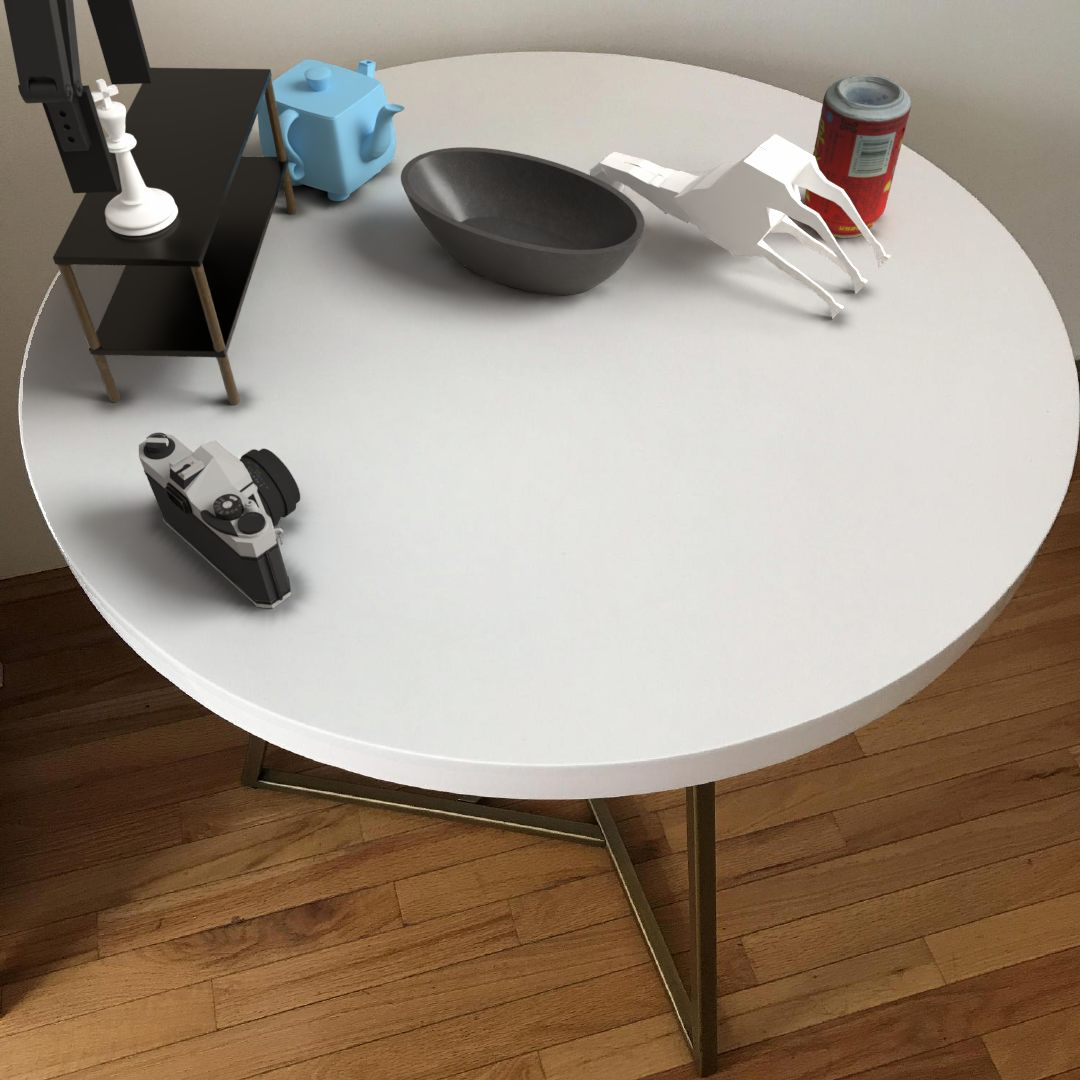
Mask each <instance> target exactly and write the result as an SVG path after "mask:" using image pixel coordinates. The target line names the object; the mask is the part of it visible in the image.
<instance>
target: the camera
mask: <svg viewBox="0 0 1080 1080" xmlns="http://www.w3.org/2000/svg"><path fill="white" fill-rule="evenodd" d="M138 458H139V460H140V463H141V466H142V468H143V472H144V475H145V476H146V478H147V481H148V483H149V487H150V488H151V491H152V493H153V496H154V499H155V501H156V504H157V505H158V509H159V511H160V514H161V517H162V520H163V521H164V524H165V525H167V527H169V528H170V529H171V530H172V531H173V532H174V533H175V534H176V535H177V536H179V537H180V538H181V539H182V540H183V541H184V542H185V543H187V545H188V546H189V547H191V549H193V550H194V551H195V552H196V553H197V554H199V556H201V557H202V558H203V559H204V560H205V561H206V562H207V563H208V564H210V566H212V568H214V569H215V570H216V571H217V572H218V573H220V574H221V575H222V576H223V577H224V578H225V579H226V580H227V581H228V582H229V583H231V584H232V585H233V586H234V587H235V588H236V589H237V590H238V591H239V592H241V594H243V595H244V596H245V597H246V598H247V599H248V600H249V601H250V602H251V603H253V604H254V605H255V606H256V607H257V608H263V609H272V610H273V609H274V608H275V607H277V606H278V605H280V604H281V603H282V602H284V601H285V600H287V599H288V598H289V597H290V596H292V588H291V582H290V577H289V575H288V573H287V569H286V566H285V562H284V559H283V555H282V552H281V548H280V545H283V539H282V538H283V536H284V530H283V529H282V528H281V527H277V528H275V527H276V526H278V525H279V522H280V519H281V518H286V517H287V516H289V515H291V514H292V513H293V512H294V511H296V509H297V504H298V503H299V502H300V501H301V492H300V488H299V486H298V483H297V481H296V479H295V478H294V476H293V474H292V472H291V471H290V470H289V468H288V467H287V465H286V464H285V463H284V462H283V460H281V458H279V457H278V456H277V455H276V454H275V453H274V452H272V451H271V450H269V449H267V448H261V449H256V448H254V449H253V448H252V449H250V450H248V451H247V452H245V453H244V454H242V455H241V456H240V459H239V458H238V457H236V456H235V455H233V453H231V452H230V451H229V450H228V449H226V447H224V446H223V445H221V443H220V442H218V441H217V440H212V441H210V442H207V443H204V444H202V445H200V446H199V447H197V448H196V449H195V450H194V451H192V450H191V449H190V448H188V447H187V446H186V445H185V444H184V443H183V442H182V441H180V440H179V439H178V438H177V437H176V436H175V435H173V434H170V433H169V434H168V433H164V432H154V433H151V434H149V435H148V436H147V438H146V439H145V440H144V441H143V442H141V443H139V444H138ZM278 538H279V540H280V545H279V541H278Z"/></svg>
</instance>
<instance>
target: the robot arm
mask: <svg viewBox="0 0 1080 1080" xmlns="http://www.w3.org/2000/svg"><path fill="white" fill-rule="evenodd" d="M86 2H87V6H88V9H89V13H90V15H91V20H92V22H93V26H94V29H95V32H96V36H97V40H98V43H99V46H100V49H101V51H102V53H101V54H102V56H103V60H104V63H105V66H106V70H107V73H108V77H109V80H110V83H111V85H113V84H114V85H115V86H117V85H139V84H141V85H142V84H144V83H151V82H152V79H153V77H152V73H151V69H150V68H151V65H150V62H149V58H148V54H147V51H146V47H145V44H144V40H143V35H142V32H141V28H140V25H139V21H138V17H137V14H136V10H135V5H134V3H133V2H134V1H133V0H86ZM3 5H4V10H5V16H6V20H7V27H8V31H9V37H10V42H11V47H12V53H13V57H14V62H15V63H14V64H15V68H16V69H15V70H16V74H17V79H18V84H17V88H18V93H19V95H20V97H21V98H22V100H23V101H24V103H25V104H42V108H43V110H44V113H45V116H46V119H47V122H48V124H49V127H50V131H51V133H52V135H53V139H54V142H55V145H56V148H57V150H58V153H59V156H60V159H61V162H62V166H63V168H64V170H65V173H66V176H67V180H68V182H69V186H70V187H71V188H70V189H71V190H72V193H73V194H86V193H95V192H118V189H119V186H120V184H119V181H118V178H117V174H116V171H115V168H114V165H113V162H112V158H111V155H110V152H109V149H108V145H107V142H106V136H105V133H104V128H103V126H102V125H101V123H100V120H99V117H98V113H97V110H96V107H97V106H96V104H95V102H94V100H93V97H92V94H91V93H92V91H91V88H90V85H88V84H87V85H83V83H82V74H81V64H80V55H79V46H78V45H79V44H78V34H77V26H76V25H77V24H76V16H75V15H76V14H75V5H74V0H3Z"/></svg>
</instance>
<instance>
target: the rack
mask: <svg viewBox="0 0 1080 1080" xmlns="http://www.w3.org/2000/svg"><path fill="white" fill-rule="evenodd" d="M150 69H151V73H152V77H153V79H152V82H151V83H144V84H141V85H140V87H139V88H138V90H137V93H136V94H135V97H134V98H133V100H132V103H131V104H130V106H129V108H128V110H127V111H126V118H125V133H128V134H131V135H133V136H134V138H135V139H136V142H137V143H136V145H135V147H134V148H133V149H131V150H130V152H131V154H132V157H133V159H134V162H135V164H136V166H137V168H138V171H139V173H140V175H141V177H142V179H143V181H144V184H145V185H146V187H148V188H156V189H160V190H163V191H165V192H167V193H168V194H170V195H171V196H172V197H173V199H174V202H175V204H176V206H177V208H178V214H177V216H176V218H175V220H174V221H173V222H172V223H171V224H170V225H169V226H167V227H166V228H164V229H162V230H160V231H158V232H155V233H152V234H148V235H142V236H127V235H122V234H119V233H116V232H114V231H113V230H111V229H110V228H109V227H108V225H107V223H106V216H105V209H106V206H107V205H108V203H109V202H110V201H111V200H112V199H113V198H114V197H116V196H117V195H119V194H120V193H121V192H122V187H121V181H120V175H119V169H118V164H117V160H116V155H115V153H110V155H111V158H112V162H113V165H114V168H115V171H116V174H117V178H118V181H119V184H120V186H119V189H118V192H95V193H84V195H83V198H82V200H81V201H80V204H79V206H78V207H77V209H76V211H75V214H74V216H73V217H72V219H71V221H70V223H69V225H68V227H67V228H66V231H65V233H64V235H63V236H62V238H61V240H60V241H59V244H58V247H57V248H56V250H55V252H54V254H53V256H52V260H53V262H54V264H55V265H57V268H58V270H59V273H60V275H61V278H62V280H63V283H64V285H65V288H66V291H67V293H68V296H69V299H70V301H71V303H72V306H73V309H74V311H75V314H76V316H77V319H78V322H79V324H80V327H81V329H82V332H83V334H84V337H85V339H86V342H87V345H88V353H89V354H90V355H91V356H92V357H93V360H94V362H95V365H96V368H97V371H98V372H99V373H98V374H99V376H100V378H101V381H102V383H103V386H104V388H105V391H106V393H107V396H108V398H109V401H110V402H111V403H118V402H119V401H120V400H121V394H120V391H119V389H118V386H117V384H116V381H115V378H114V376H113V373H112V370H111V368H110V365H109V363H108V360H107V358H106V356H119V357H120V356H123V357H125V356H127V357H129V356H130V357H168V358H169V357H172V358H173V357H177V358H216V360H217V365H218V368H219V371H220V375H221V378H222V382H223V385H224V389H225V392H226V396H227V399H228V402H229V405H232V406H236V405H238V404H240V401H241V399H240V396H239V392H238V388H237V385H236V380H235V377H234V374H233V370H232V367H231V363H230V359H229V356H228V352H229V348H230V345H231V342H232V338H233V335H234V332H235V329H236V326H237V322H238V320H239V316H240V314H241V311H242V307H243V305H244V301H245V299H246V296H247V293H248V290H249V289H248V288H249V287H250V283H251V279H252V276H253V274H254V271H255V267H256V265H257V261H258V257H259V255H260V252H261V248H262V246H263V243H264V239H265V236H266V233H267V231H268V227H269V225H270V221H271V218H272V215H273V212H274V208H275V205H276V202H277V199H278V196H279V193H280V190H281V187H282V190H283V195H284V200H285V205H286V210H287V213H288V214H290V215H294V214H296V213H297V212H298V210H297V209H298V208H297V206H296V200H295V199H296V198H295V194H294V189H293V186H292V183H291V178H290V173H289V168H288V158H287V157H286V152H285V147H284V142H283V136H282V131H281V126H280V121H279V116H278V110H277V105H276V100H275V95H274V89H273V84H272V81H273V79H272V70H271V68H211V67H208V68H207V67H202V68H201V67H150ZM264 95H265V99H266V104H267V109H268V114H269V119H270V124H271V129H272V135H273V140H274V145H275V150H276V155H277V157H263V156H252V155H251V156H247V155H245V156H243V154H244V151H245V149H246V145H247V143H248V140H249V137H250V135H251V132H252V129H253V127H254V124H255V122H256V119H257V117H258V111H259V108H260V106H261V103H262V100H263V98H264ZM72 266H117V267H118V266H123V267H124V268H123V270H122V272H121V275H120V277H119V279H118V282H117V284H116V286H115V288H114V290H113V293H112V294H111V298H110V299H109V301H108V304H107V306H106V308H105V311H104V313H103V315H102V317H101V320H100V322H99V324H98V326H97V328H96V329H95V326H94V323H93V321H92V317H91V315H90V312H89V310H88V307H87V305H86V302H85V300H84V297H83V293H82V292H81V289H80V286H79V283H78V281H77V279H76V276H75V273H74V270H73V268H72Z"/></svg>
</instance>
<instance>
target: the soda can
mask: <svg viewBox="0 0 1080 1080" xmlns="http://www.w3.org/2000/svg"><path fill="white" fill-rule="evenodd" d="M822 99H823V100H822V104H821V105H822V106H821V111H820V116H819V121H818V127H817V133H816V138H815V143H814V148H813V152H812V155H813V156H815V159H816V162H817V165H818V168H819V170H820V171H821V173H822V174H823V175H824V176H825V177H826V179H827V180H828V181H830V182H832V183H833V184H835V185H837V186H838V187H840V188H842V189H843V190H844V191H845V193H846V194H847V196H848V197H849V198H850V200H851V202H852V203H853V205H854V207H855V209H856V210H857V212H858V214H859V215H860V217H861V219H862V220H863V222H864V223H865V225H866V226H867V228H868V229H869V230H870V231H871V229H872V227H874V226H873V225H874V224H875V223H876V222H877V221H878V220H879V219H880V218H881V217H882V216H883V214H884V212H885V210H886V207H887V203H888V201H889V195H890V192H891V187H892V184H893V180H894V176H895V171H896V169H897V168H896V167H897V164H898V160H899V157H900V156H899V155H900V153H901V148H902V144H903V140H904V137H905V131H906V128H907V124H908V121H909V116H910V112H911V109H912V99H911V97H910V95H909V94H908V92H907V91H906V90H905V89H904V88H903V87H901V86H900V85H899V84H897V83H896V82H895V81H893V80H891V79H890V78H887V77H885V76H881V75H874V74H857V75H853V76H849V77H844V78H841V79H838V80H837V81H835V82H833V83H832V84H831V85H829V86H828V87H827V90H825V93H824V95H823V98H822ZM804 201H805V202H804V203H805V205H806V206H807V207H809V208H811V209H812V210H814V211H816V212H817V213H819V215H820V216H821V218H822V219H823V220H824V222H825V223H826V225H827V227H828V228H829V230H830V232H831V233H832V235H833V237H834V238H838V239H850V238H856V237H857V238H859V237H862V236H863V234H862V233H861V231H860V230H859V229H858V227H857V226H856V224H855V223H854V222H853V221H852V220H851V218H850V217H849V216H848V215H847V214H846V212H845V211H844V210H843V209H842V207H841V206H839V205H838V204H836V203H835V202H834V201H831V200H829V199H826V198H824V197H822V196H820V195H818V194H816V193H814V192H812V191H810V190H808V189H806V188H805V194H804Z"/></svg>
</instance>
